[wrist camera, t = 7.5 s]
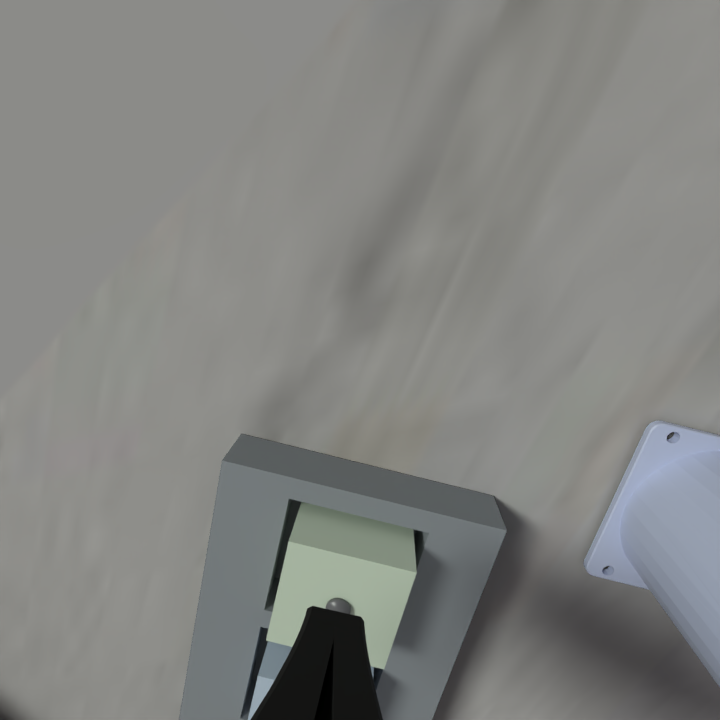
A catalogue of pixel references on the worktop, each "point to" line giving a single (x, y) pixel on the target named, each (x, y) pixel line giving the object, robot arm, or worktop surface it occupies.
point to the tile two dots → (270, 672)
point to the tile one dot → (345, 575)
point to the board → (266, 558)
